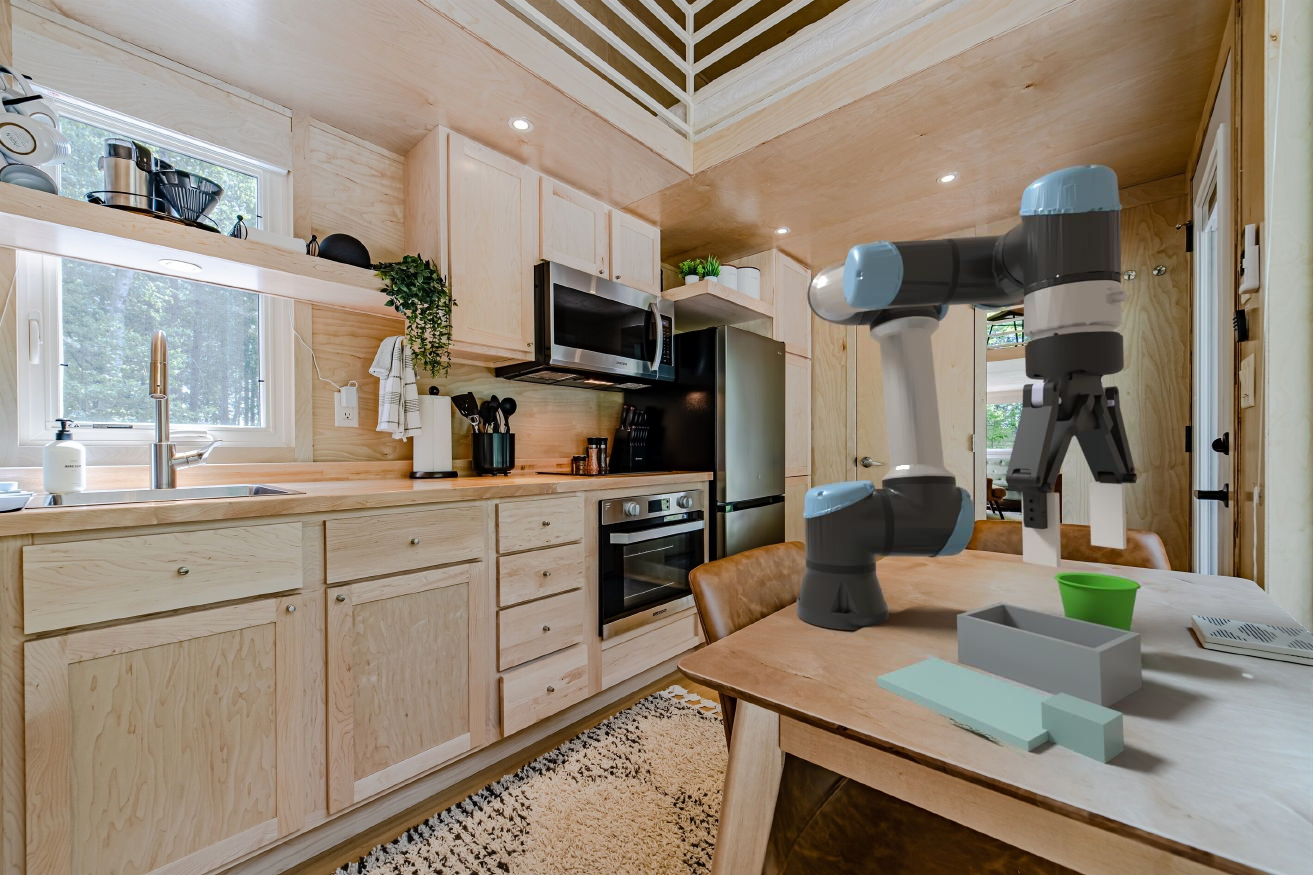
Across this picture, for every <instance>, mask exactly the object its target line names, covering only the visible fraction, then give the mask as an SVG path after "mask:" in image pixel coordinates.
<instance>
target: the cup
mask: <svg viewBox="0 0 1313 875" xmlns="http://www.w3.org/2000/svg"><path fill="white" fill-rule="evenodd" d="M1054 580H1056V581H1057V583H1058V589H1059V593H1060V597H1061V598H1060V599H1061V601H1062V607H1063V611H1064V617H1068V618H1073V619H1077V620H1081V621H1086V622H1090V623H1095V624H1099V625H1104V626H1108V627H1112V628H1117V629H1121V630H1126V631H1130V632H1131V626H1132V621H1133V615H1134V609H1135V603H1136V597H1137V592H1138V590H1140V589H1141V587H1142V586H1141V585H1140V584H1139V583H1138V582H1137V581H1134V580H1131V579H1129V578H1125V577H1121V576H1120V577H1119V576H1115V575H1109V574H1102V573H1093V572H1092V573H1090V572H1073V571H1072V572H1059V573H1056V574H1055V575H1054Z"/></svg>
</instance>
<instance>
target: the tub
mask: <svg viewBox="0 0 1313 875" xmlns="http://www.w3.org/2000/svg"><path fill="white" fill-rule="evenodd" d="M956 626H957V628H956V630H957V657H958V658H957V660H958V661H957V662H958V663H960V664H963V665H965V666H969V667H971V668H974V669H976V670H980V671H983V672H986V673H988V674H992V675H995V676H998V677H1000V678H1003V679H1007V680H1009V681H1013V682H1016V683H1019V684H1022V685H1024V686H1028V687H1029V688H1030V687H1031V688H1034V689H1036V690H1040V691H1042V692H1045V693H1048V694H1051V695H1053V696H1055V695H1057V694H1059V693H1064V694H1067V695H1070V696H1073V697H1076V698H1079V699H1082V700H1085V701H1088V702H1091V703H1094V704H1097V705H1100V706H1103V707H1106V708H1109V707H1111V706H1113V705H1115V704H1116V703H1118V702H1120V701H1121V700H1123V699H1125V698H1127V697H1128V696H1130V695H1132V694H1133V693H1135V692H1137V691H1139V690H1140V689H1142V688H1143V675H1142V674H1143V671H1142V669H1143V668H1142V651H1141V650H1142V646H1141V644H1142V643H1141V642H1142V641H1141V633H1139V632H1134V631H1131V630H1130V631H1126V630H1121V629H1117V628H1112V627H1108V626H1104V625H1099V624H1095V623H1090V622H1086V621H1081V620H1077V619H1073V618H1068V617H1066V616H1065V615H1063V616H1062V615H1058V614H1053V613H1050V612H1045V611H1042V610H1041V611H1040V610H1037V609H1032V608H1027V607H1023V606H1019V605H1015V604H1011V603H1010V604H1009V603H1006V602H1001V601H999V602H996V603H994V604H993V603H992V604H990V605H986V606H982V607H980V608H977V609H976V608H975V609H973V610H968V611H965V612H962V613H959V614H956Z"/></svg>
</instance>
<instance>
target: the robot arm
mask: <svg viewBox="0 0 1313 875" xmlns="http://www.w3.org/2000/svg"><path fill="white" fill-rule="evenodd" d="M1122 209H1123V205H1122V204H1121V203H1120V196H1119V184H1118V176H1117V174H1116V172H1115V170H1113V169H1112V168H1111V167H1108V166H1106V165H1103V164H1087V165H1084V164H1083V165H1076V166H1071V167H1067V168H1063V169H1059V170H1056V171H1054V172H1050V173H1048V174H1045V175H1043V176H1041V177H1039V178H1038V179H1036V180H1034V181H1033V182H1032V183H1030V184H1029V185H1028V186H1027V187H1026V188H1025V189H1024V191H1023V193H1022V196H1021V204H1020V210H1019V212H1018V214H1019V216H1020V221H1021V222H1020V223H1018V224H1017V225H1015V226H1014V227H1013V228H1011V229H1010V230H1009V231H1007V232H1005V233H1004V234H999V235H984V236H983V235H982V236H967V237H966V236H965V237H952V238H951V237H949V238H942V239H926V240H925V239H923V240H922V239H921V240H904V241H903V240H901V241H887V240H880V241H874V242H870V243H862V244H861V243H860V244H857V245H855V246H852V248H851V249H850V250H849V252H848V254H847V257H846V258H845V260H844V261H845V262H844V263H840V264H839V263H837V264H832V265H828V266H827V267H825V268H823V269H821V270H820V271H818V273H816V274H815V275H814V276H813V277H812V279H811V280H810V282H809V285H808V286H807V287H808V288H807V293H806V294H807V296H806V297H807V298H806V299H807V303H808V305H809V306H808V307H809V308H810V310H811V311H812V312H813V314H814V315H815V316H816V317H818V318H819V319H821V320H823V321H825V322H827V323H830V324H833V325H834V324H835V325H841V326H868V327H869V336H870V338H871V339H872V340H874V341H875V342H877V343H879V349H880V362H881V363H880V364H881V372H882V376H881V377H882V384H883V385H882V386H883V397H884V398H883V399H884V400H883V401H884V412H885V422H886V423H885V424H886V434H887V445H888V446H887V447H888V458H889V459H888V461H889V471H888V472H887V473H886V474H884V476H883V477H882V478H881V488H876V486H875V484H874V482H873V481H872V480H853V481H852V480H851V481H841V482H833V483H828V484H827V483H826V484H822V485H821V484H820V485H818V486H813V487H812V488H810V489H809V490H807V492H806V494H805V496H804V509H803V515H802V516H803V519H804V538H805V539H804V540H805V543H804V545H805V546H804V547H805V548H804V549H805V572H804V577H803V579H802V584H801V585H800V586H801V587H800V591H799V595H798V596H797V599H796V616H797V617H798V618H799V619H801V620H802V621H804V622H806V623H809V624H811V625H813V626H814V625H815V626H818V627H822V628H827V629H834V630H843V631H860V630H861V629H864V628H866V627H871V626H877V625H880V624H883V623H885V622H887V621H888V620H889V616H890V615H889V606H888V604H887V602H886V600H885V597H884V594H883V591H882V588H881V584H880V581H879V578H878V575H877V558H878V557H898V558H899V557H911V558H913V557H917V558H920V557H927V558H938V557H953V556H957V555H959V554H960V553H962V552H963V551H964V550H965V549H966V548H967V546H968V545H969V542H971V539H972V537H973V532H974V528H975V518H976V517H975V515H976V514H975V505H974V501H973V499H971V497H972V495H971V494H970V492H969V491H968V490H967V489H965V488H963V487H960V486H957V482H956V481H957V480H956V475H955V474H953V472H951V471H949V470H948V469H947V468H946V467H945V462H944V452H943V442H942V432H941V421H940V414H939V413H940V412H939V411H940V410H939V402H938V394H937V392H938V391H937V384H936V383H937V381H936V374H935V364H934V354H933V344H932V336H933V334H934V333H935V332H936V331H937V330H938V329H939V327H940V322H941V321H943V320H944V318H945V317H946V315H947V314H948V312H949V308H950V306H957V305H960V306H961V305H970V306H972V307H974V308H976V309H979V310H983V311H997V310H999V309H1003V308H1005V309H1006V308H1009V307H1013V306H1014V305H1015V304H1019V303H1022V302H1023V335H1024V336H1025V337H1026V338H1029V339H1030V340H1029V341H1028V342H1027V343H1026V345H1025V346H1024V358H1025V359H1024V360H1025V361H1024V362H1025V365H1024V366H1025V376H1026V377H1027V378H1028V379H1031V380H1038V381H1042V382H1036V383H1027V384H1024V385H1023V388H1022V407H1021V408H1022V409H1021V412H1020V416H1019V420H1018V423H1017V424H1018V425H1017V429H1016V434H1015V437H1014V442H1013V445H1012V449H1011V453H1010V458H1009V462H1008V467H1007V471H1006V475H1005V481H1006V484H1007V488H1008V490H1009V491H1013V492H1015V491H1016V492H1021V519H1022V520H1021V523H1022V524H1021V525H1022V526H1021V527H1022V528H1021V529H1022V532H1021V533H1022V563H1028V564H1034V565H1040V566H1044V567H1045V566H1046V567H1051V568H1052V567H1053V568H1056V569H1057V568H1060V567H1062V558H1061V557H1062V556H1061V555H1062V554H1061V519H1060V518H1061V515H1060V513H1061V512H1060V493H1059V492H1053V489H1054V487H1055V485H1056V482H1057V479H1058V476H1059V474H1060V471H1061V469H1062V466H1063V464H1064V460H1065V457H1066V455H1067V453H1068V450H1069V446H1070V445H1071V441H1072V439H1073V438H1074V437H1076V440H1077V442H1078V445H1079V446H1080V450H1081V451H1082V453H1083V456H1084V458H1085V461H1086V462H1087V465H1088V468H1089V470H1090V472H1091V474H1092V477H1093V479H1094V481H1095V482H1089V513H1090V515H1089V516H1090V520H1089V521H1090V522H1089V523H1090V545H1091V546H1096V547H1097V546H1098V547H1103V548H1104V547H1105V548H1112V549H1119V550H1125V549H1127V516H1126V515H1127V514H1126V511H1127V510H1126V484H1136V483H1137V480H1138V475H1137V473H1135V472H1136V469H1135V465H1134V460H1133V456H1132V452H1131V447H1130V444H1129V440H1128V435H1127V431H1126V427H1125V423H1124V418H1123V415H1122V412H1121V404H1120V390H1119V387H1118V386H1116V385H1115V386H1105V387H1103V382H1102V378H1103V377H1104V376H1108V375H1109V376H1110V375H1111V376H1112V375H1115V374H1117V373H1120V372H1121V371H1122V370H1123V369H1124V366H1125V358H1124V355H1125V352H1124V335H1122V334H1121V333H1120V332H1118V331H1115V330H1116V329H1118V327H1120V326H1121V325H1123V313H1122V312H1123V311H1122V303H1123V302H1126V300H1127V299H1129V293H1127V291H1126V290H1122V278H1121V276H1122V224H1121V223H1122Z"/></svg>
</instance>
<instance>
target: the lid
mask: <svg viewBox="0 0 1313 875" xmlns="http://www.w3.org/2000/svg"><path fill="white" fill-rule="evenodd" d="M876 686H877V687H880V688H882V689H884V690H886V691H889V692H891V693H893V694H896V695H898V696H901V697H902V698H905V699H906V700H909V701H912V702H914V703H915V704H918V705H920V706H922V707H924V708H928V709H929V710H932V711H934V712H936V713H938V714H940V715H943V716H946V717H948V718H950V719H952V720H955V721H957V722H959V723H962V724H963V725H966V726H967V727H970V728H972V729H975V730H977V731H979V732H982V733H983V734H986V735H988V736H991V737H993V738H995V739H998V740H1001V741H1003V742H1005V743H1007V744H1010V745H1012V746H1014V747H1016V748H1018V749H1021V750H1023V751H1025V752H1028V753H1029V752H1031V751H1032V750H1034V749H1037V747H1039V746H1041V745H1043V744H1045V743H1046V742H1051V743H1053V744H1056V745H1059V747H1063V748H1065V749H1068V750H1070V751H1073V752H1074V753H1075V752H1076V753H1078V754H1081V755H1082V756H1084V757H1088V758H1090V759H1092V760H1095V761H1096V762H1100V763H1102V764H1106V763H1108V762H1109V761H1111V760H1112V759H1114V758H1115V757H1117V756H1119V755H1120V754H1121V753H1123V752H1124V751H1125V742H1124V741H1125V738H1124V712H1121V711H1118V710H1114V709H1111V708H1109V707H1107V708H1106V707H1103V706H1100V705H1097V704H1094V703H1091V702H1088V701H1085V700H1082V699H1079V698H1076V697H1073V696H1070V695H1067V694H1064V693H1059V694H1057V695H1053V696H1052V697H1049V696H1046V695H1044V694H1041V693H1038V692H1035V691H1032V690H1028V689H1026V688H1025V687H1021V686H1019V685H1015V684H1012V683H1009V682H1006V681H1004V680H1001V679H998V678H995V677H992V676H989V675H986V674H984V673H980V672H978V671H974V670H972V669H969V668H966V667H963V666H960V665H958V664H955V663H953V662H949V661H946V660H943V659H940V658H939V657H931V658H927V659H926V660H922V661H919V662H916V663H914V664H910V665H909V666H905V667H902V668H899V669H897V670H893V671H891V672H887V673H886V674H882V675H879V676H877V677H876Z"/></svg>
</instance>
